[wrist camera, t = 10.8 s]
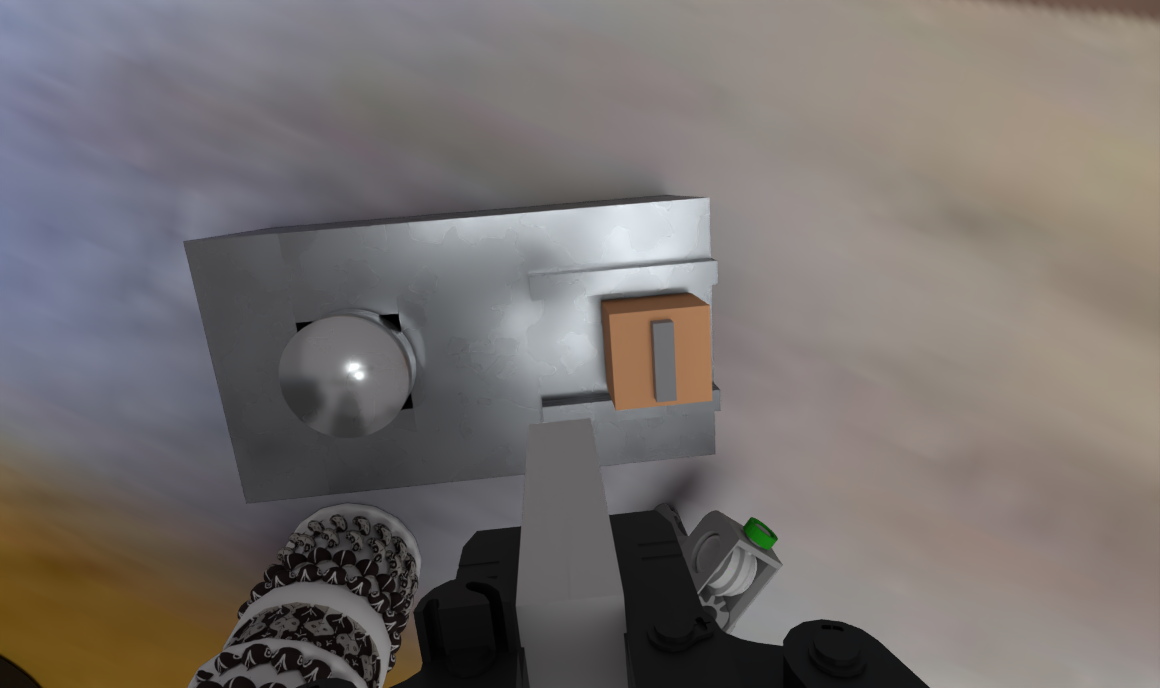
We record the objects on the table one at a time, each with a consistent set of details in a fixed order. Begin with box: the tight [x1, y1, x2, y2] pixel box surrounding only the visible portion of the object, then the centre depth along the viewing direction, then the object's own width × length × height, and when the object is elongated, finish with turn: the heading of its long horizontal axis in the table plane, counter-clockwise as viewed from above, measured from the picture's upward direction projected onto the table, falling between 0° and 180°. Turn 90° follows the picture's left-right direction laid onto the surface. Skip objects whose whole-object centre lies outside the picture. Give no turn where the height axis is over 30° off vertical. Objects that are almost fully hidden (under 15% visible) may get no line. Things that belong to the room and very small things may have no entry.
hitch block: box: [183, 195, 721, 504], centre depth 31 cm, size 22×12×10 cm, turn 95°
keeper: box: [601, 293, 712, 411], centre depth 26 cm, size 4×4×4 cm
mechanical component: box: [655, 504, 782, 634], centre depth 35 cm, size 3×10×10 cm, turn 146°
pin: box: [279, 309, 416, 438], centre depth 30 cm, size 5×5×10 cm
